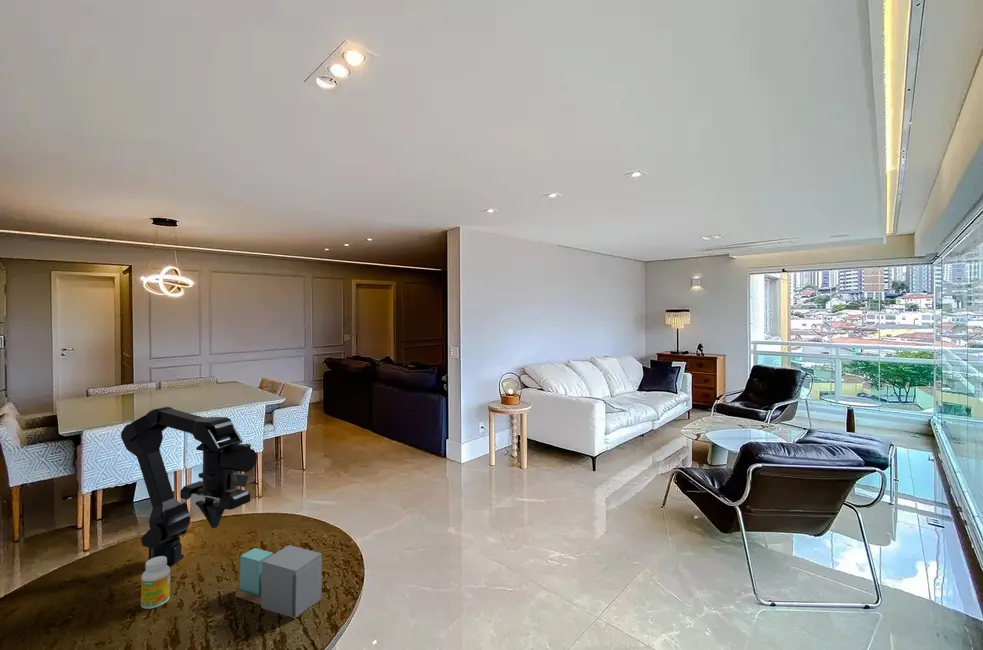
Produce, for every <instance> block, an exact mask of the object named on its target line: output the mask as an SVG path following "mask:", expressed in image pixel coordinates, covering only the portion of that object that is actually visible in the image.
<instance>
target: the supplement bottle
mask: <svg viewBox="0 0 983 650" xmlns="http://www.w3.org/2000/svg"><path fill="white" fill-rule="evenodd" d="M144 566H145V569H144V570H145V571H143V572H142V574H141V577H140V579H141V580H140V581H141V582H140V583H141V584H140V586H141V587H140V606H141V608H143V609H146V610H151V609H155V608H158V607H161V606H162V605H165V604H166V603H167V602H168V601H169V599H170V598H171V567H169V566H167V558H166V557H164V556H159V557H155V558H152V559H150V560H149V559H148V560H147V561H145V565H144Z"/></svg>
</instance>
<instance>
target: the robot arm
mask: <svg viewBox="0 0 983 650" xmlns="http://www.w3.org/2000/svg"><path fill="white" fill-rule="evenodd" d="M167 428H171V429H174V430H176V431H177V430H178V431H181V432H183V433H189V434H191V435H192V436H193V438H194V440H196V441H197V442H200V444H199V445H197V446H196V448H195V449H196V451H201V452H202V471H201V472H199V473H198V478H200V479H202V480H199V481H196V482H193V483H190V484H187V485H185V486H183V487H182V489H181V490H180V492H179V494H180V495H179V499H182V500H190V499H191V498H192V495H194V494H195V495H196V496H197V497H198V501H196V502H195V506H197V507H198V508H199V510H200V511H201V513H202V514H203V516H204V517H205V518H206V520H207V522H208V523H209V526H210V527H211V529H216V528H218V526H219V524H220V521H222V520H221V519H222V517H223V514H224V511H225V510H229V511H231V510H234V509H236V508H239V507H241V506H243V505H245V504H248V503H250V502H251V500H252V499H251V498H252V497H251V496H252V495H251V494H252V493H251V492H250V491H249V490H243V489H240V488H238V489H235V487H242V488H246V486H247V484H248V480H249V476H250V474H246V473H248V472H250V471H251V470H252V469H253V468H254V467H255V465H256V463H257V460H258V455H257V453H256V451H255V450H254V448H253V449H252V448H251V447H252V446H251V445H252V444H251V443H243V439H242V437H241V435H240V434H239V432H238V430H237V429H236V426H235V425H234V423H233V421H232V419H230V417H225V416H224V417H223V416H208V417H206V416H205V417H204V416H200V415H197V414H193V413H190V412H189V413H188V412H185V411H181V410H178V409H174V408H173V407H170V406H164V407H158V408H154V409H152V410H149V411H148V412H147V413H146V414H145V415H143V416H142V417H141V416H140V417H139V418H137V419H135V420H133V421H132V422H130V423H128V424H126V425H125V426H124V427H123V429H122V430H121V433H120V439H121V440H122V442H123V444H124V447H125V449H126V450H127V451H128V452H130V453H131V454H133V455H134V456H135V457H136V458H137V460H138V465H139V467H140V471H141V475H142V478H143V480H144V484H145V487H146V490H147V493H148V497H149V500H150V503H151V506H152V510H151V512H150V515H149V516H150V517H149V519H148V524H149V529H148V530H147V532H145V533H144V534H143V536H141V538H140V542H141V545H142V547H145V548H148V560H150V559H152V558H155V557H159V556H164V557H166V558H167V566H169V567H170V568H171V567H172V566H174V565H175V564H176V563H177V562H179V561H181V560H182V559H183V558H184V557H185V555H184V554H182V547H183V546H182V542H181V537H182V536H183V535H186V534H187V532H188V528H189V525H190V523H191V516H192V514H191V513H190V511H189V506H188V504H187V502H186V501H183V502H180V501H178V500H177V499H176V497H175V495H174V491H173V489H172V484H171V482H170V479H169V475H168V473H167V470H166V466H165V463H164V459H163V457H162V454H161V450H160V449H161V445H162V442H163V440H164V435H163V431H165V430H166V429H167ZM240 472H242V473H240ZM143 569H144V570H146V569H145V565H144V566H143Z"/></svg>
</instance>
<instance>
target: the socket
mask: <svg viewBox="0 0 983 650" xmlns="http://www.w3.org/2000/svg"><path fill="white" fill-rule="evenodd" d="M322 578H323V557H322V553H321V552H317V551H313V550H310V549H306V548H304V547H303V548H302V547H298V546H295V545H290V544H288V545H287V546H285V547H284V548H282V549H280V550H278V551H277V552H275V553H273V555H272V556H270V557H268V558H267V559H265V560H263V561H262V586H261V605H260V608H261V609H264V610H267V611H269V612H272V613H275V612H276V613H275V614H278V613H280V614H279V615H281V614H283V615H282V616H284V615H287V616H291V617H294V618H296V617H298V616H299V615H300V614H302V613H303V612H304V611H305V610H306V611H308V610H309V609H310V608H311V607H313V606H314V605H315V604H317V602H319V601H320V600H321V599H322V584H323V583H322V582H323V579H322ZM312 605H313V606H312ZM309 607H310V608H309ZM308 608H309V609H308ZM307 609H308V610H307ZM306 611H305V612H306ZM305 612H304V613H305ZM304 613H303V614H304ZM303 614H302V615H303ZM287 616H286V617H287ZM300 616H301V615H300ZM300 616H299V617H300ZM299 617H298V618H299Z"/></svg>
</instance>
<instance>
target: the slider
mask: <svg viewBox="0 0 983 650" xmlns="http://www.w3.org/2000/svg"><path fill="white" fill-rule="evenodd" d="M273 554H274V552H271V551H268V550H263V549H260V548H256V547H254V548H252V549H251V550H248V551H247V552H244V553H243V554H241V555H240V561H239V562H240V565H239V567H240V571H239V572H240V574H239V580H240V581H239V590H241V591H244V592H247V593H251V594H254V595H257V596H260V597H261V586H262V561H263V560H265V559H267V558H268V557H270V556H272V555H273Z"/></svg>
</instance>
